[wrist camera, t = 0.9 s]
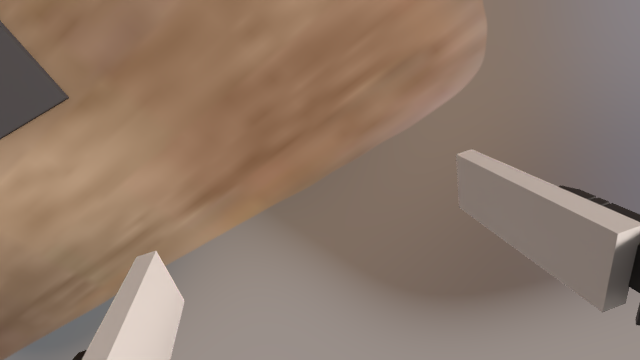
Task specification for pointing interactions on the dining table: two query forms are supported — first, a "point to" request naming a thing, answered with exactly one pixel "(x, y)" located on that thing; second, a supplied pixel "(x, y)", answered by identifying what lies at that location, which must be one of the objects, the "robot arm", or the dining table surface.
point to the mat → (23, 85)
